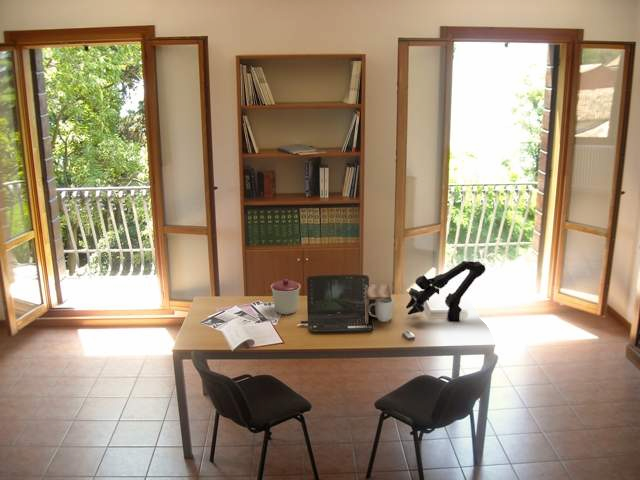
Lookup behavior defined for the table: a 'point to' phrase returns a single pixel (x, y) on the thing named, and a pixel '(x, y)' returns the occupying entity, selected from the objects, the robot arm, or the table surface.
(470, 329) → the table surface
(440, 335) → the table surface
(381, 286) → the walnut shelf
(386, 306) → the mug
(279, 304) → the canister
